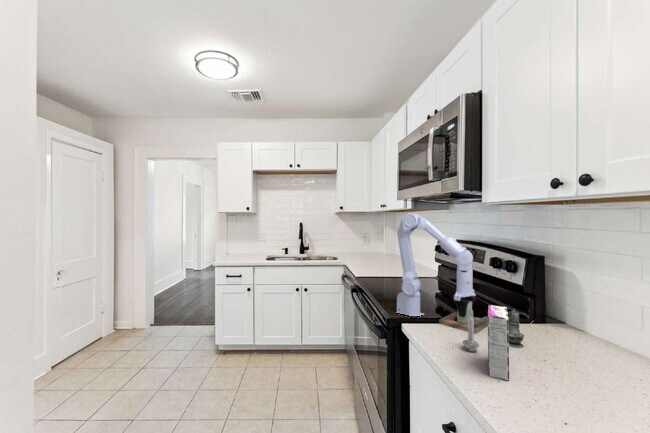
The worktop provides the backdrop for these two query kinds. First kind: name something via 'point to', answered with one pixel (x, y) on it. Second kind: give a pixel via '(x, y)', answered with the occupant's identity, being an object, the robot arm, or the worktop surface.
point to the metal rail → (480, 322)
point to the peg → (465, 319)
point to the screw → (470, 334)
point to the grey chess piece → (514, 330)
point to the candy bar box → (498, 342)
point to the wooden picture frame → (451, 322)
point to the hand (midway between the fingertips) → (464, 315)
